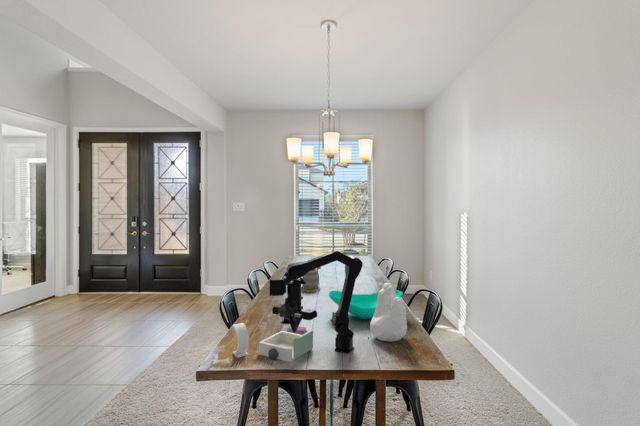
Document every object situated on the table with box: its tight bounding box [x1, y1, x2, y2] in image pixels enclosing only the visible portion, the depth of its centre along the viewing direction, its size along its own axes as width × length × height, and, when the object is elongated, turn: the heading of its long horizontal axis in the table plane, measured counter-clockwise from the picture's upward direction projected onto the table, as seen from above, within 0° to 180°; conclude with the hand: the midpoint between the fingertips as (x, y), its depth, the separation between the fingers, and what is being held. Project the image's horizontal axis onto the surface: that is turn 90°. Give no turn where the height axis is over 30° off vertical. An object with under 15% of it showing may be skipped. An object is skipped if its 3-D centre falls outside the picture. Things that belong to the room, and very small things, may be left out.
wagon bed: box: [258, 330, 301, 363], centre depth 164 cm, size 16×19×5 cm
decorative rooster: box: [369, 282, 408, 343], centre depth 175 cm, size 25×16×25 cm, turn 1°
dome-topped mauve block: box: [286, 325, 309, 335], centre depth 180 cm, size 11×4×4 cm, turn 60°
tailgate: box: [293, 329, 314, 360], centre depth 160 cm, size 1×13×8 cm, turn 150°
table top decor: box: [328, 289, 404, 320], centre depth 210 cm, size 40×28×13 cm
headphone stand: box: [232, 322, 250, 359], centre depth 160 cm, size 5×6×12 cm
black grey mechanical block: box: [279, 317, 290, 325], centre depth 204 cm, size 12×7×5 cm, turn 163°
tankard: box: [301, 266, 322, 293], centre depth 274 cm, size 20×13×15 cm, turn 147°
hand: (294, 332), depth 162 cm, fingers closed
